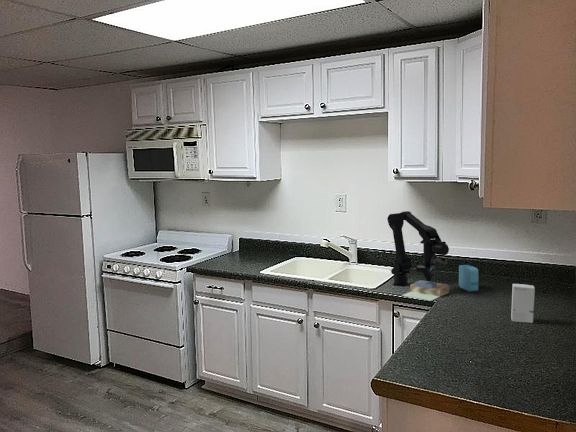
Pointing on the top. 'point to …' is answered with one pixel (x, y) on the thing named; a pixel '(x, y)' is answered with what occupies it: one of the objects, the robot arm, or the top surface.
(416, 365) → the top surface
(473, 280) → the data package
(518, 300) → the skincare box
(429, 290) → the beige shallow box
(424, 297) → the mat
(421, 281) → the block
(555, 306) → the top surface
